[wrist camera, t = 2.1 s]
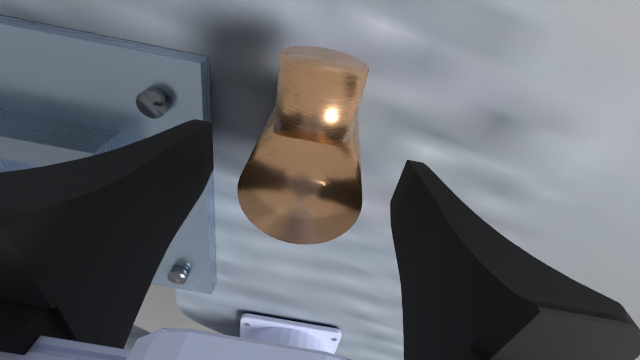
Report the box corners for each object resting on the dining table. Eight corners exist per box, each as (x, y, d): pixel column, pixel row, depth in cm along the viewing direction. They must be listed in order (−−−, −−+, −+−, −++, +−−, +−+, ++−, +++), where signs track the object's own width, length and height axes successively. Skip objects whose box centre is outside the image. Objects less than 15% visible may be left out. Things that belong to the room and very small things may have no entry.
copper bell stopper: (347, 163, 16) (346, 253, 11) (270, 148, 16) (236, 233, 11) (380, 40, 13) (399, 94, 8) (283, 20, 13) (240, 62, 8)
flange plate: (216, 282, 23) (200, 321, 21) (-10, 243, 22) (-53, 278, 20) (209, 56, 14) (178, 79, 11) (-178, -21, 13) (-299, -15, 11)
